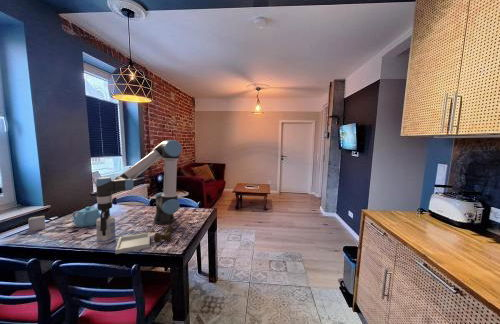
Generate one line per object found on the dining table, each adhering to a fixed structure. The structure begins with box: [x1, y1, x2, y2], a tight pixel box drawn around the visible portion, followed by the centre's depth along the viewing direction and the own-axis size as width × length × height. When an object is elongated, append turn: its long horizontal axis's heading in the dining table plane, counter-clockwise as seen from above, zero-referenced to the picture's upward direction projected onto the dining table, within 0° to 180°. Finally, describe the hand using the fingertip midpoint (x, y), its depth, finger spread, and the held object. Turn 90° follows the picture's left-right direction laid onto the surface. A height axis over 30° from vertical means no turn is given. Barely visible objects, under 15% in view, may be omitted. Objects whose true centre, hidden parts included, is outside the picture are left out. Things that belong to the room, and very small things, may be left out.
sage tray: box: [114, 232, 151, 255], centre depth 124 cm, size 17×17×2 cm
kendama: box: [153, 225, 174, 243], centre depth 132 cm, size 6×10×20 cm
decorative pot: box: [72, 206, 102, 228], centre depth 151 cm, size 16×16×14 cm
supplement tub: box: [95, 215, 116, 245], centre depth 127 cm, size 10×10×15 cm
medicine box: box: [27, 215, 46, 232], centre depth 142 cm, size 8×4×9 cm, turn 134°
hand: (106, 236), depth 127 cm, fingers open, 10 cm apart
